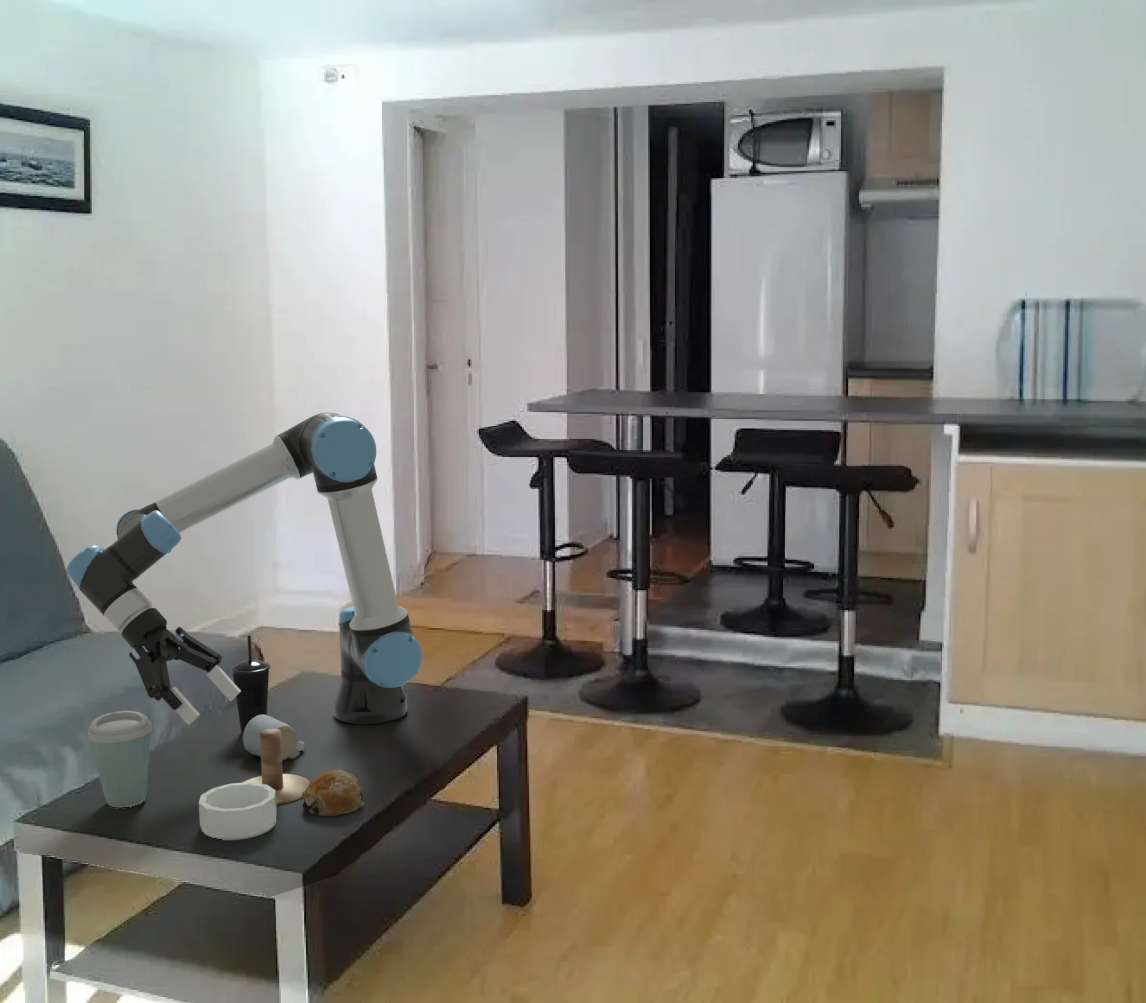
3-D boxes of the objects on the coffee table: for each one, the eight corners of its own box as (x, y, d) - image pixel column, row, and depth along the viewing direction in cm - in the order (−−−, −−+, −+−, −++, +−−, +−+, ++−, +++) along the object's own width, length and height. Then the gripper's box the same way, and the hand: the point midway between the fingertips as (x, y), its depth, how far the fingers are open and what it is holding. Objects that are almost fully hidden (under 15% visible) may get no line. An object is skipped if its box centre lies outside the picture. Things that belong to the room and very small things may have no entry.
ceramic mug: (270, 768, 236) (268, 728, 235) (242, 758, 241) (241, 719, 240) (314, 752, 244) (313, 714, 243) (286, 743, 249) (285, 706, 248)
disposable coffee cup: (164, 805, 219) (159, 722, 216) (99, 819, 213) (93, 733, 211) (148, 786, 227) (143, 705, 225) (85, 798, 222) (80, 716, 219)
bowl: (256, 804, 218) (255, 777, 218) (288, 826, 209) (287, 798, 208) (189, 823, 211) (187, 794, 210) (219, 846, 202) (218, 817, 201)
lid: (289, 772, 234) (287, 715, 232) (323, 793, 224) (321, 733, 222) (222, 790, 226) (219, 730, 224) (255, 812, 216) (251, 750, 214)
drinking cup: (279, 727, 258) (275, 631, 255) (264, 739, 251) (259, 641, 248) (244, 725, 260) (239, 630, 256) (227, 737, 252) (222, 640, 249)
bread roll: (356, 835, 215) (375, 792, 214) (299, 817, 211) (319, 774, 211) (349, 813, 224) (368, 772, 224) (295, 795, 221) (313, 753, 220)
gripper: (165, 616, 240) (239, 699, 238) (80, 652, 216) (162, 744, 214) (188, 591, 237) (263, 674, 236) (105, 623, 214) (188, 716, 212)
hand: (215, 708), depth 225 cm, fingers open, 13 cm apart
